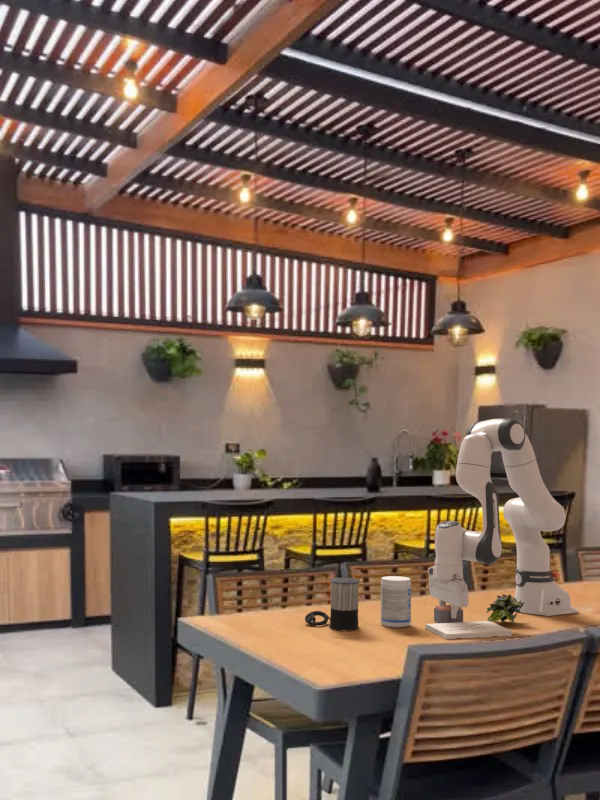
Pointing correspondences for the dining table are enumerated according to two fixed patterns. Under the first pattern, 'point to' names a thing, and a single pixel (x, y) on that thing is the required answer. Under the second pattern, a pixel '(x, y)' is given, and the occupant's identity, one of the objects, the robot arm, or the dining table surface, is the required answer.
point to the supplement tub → (395, 601)
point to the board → (468, 629)
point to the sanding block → (447, 614)
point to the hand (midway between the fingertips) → (448, 616)
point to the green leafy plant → (504, 608)
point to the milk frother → (340, 606)
